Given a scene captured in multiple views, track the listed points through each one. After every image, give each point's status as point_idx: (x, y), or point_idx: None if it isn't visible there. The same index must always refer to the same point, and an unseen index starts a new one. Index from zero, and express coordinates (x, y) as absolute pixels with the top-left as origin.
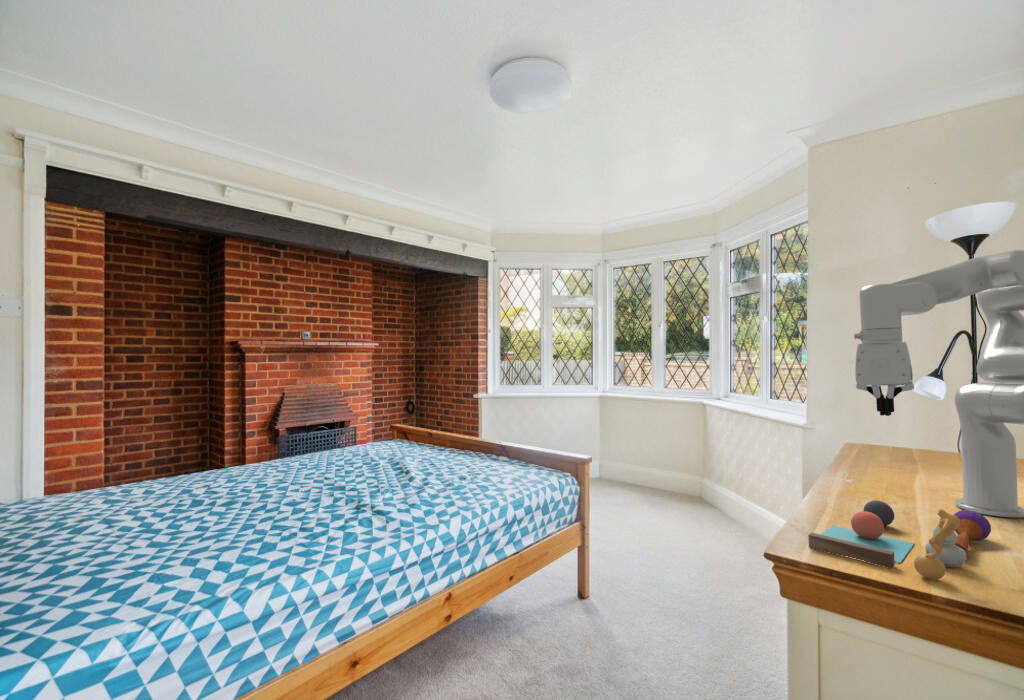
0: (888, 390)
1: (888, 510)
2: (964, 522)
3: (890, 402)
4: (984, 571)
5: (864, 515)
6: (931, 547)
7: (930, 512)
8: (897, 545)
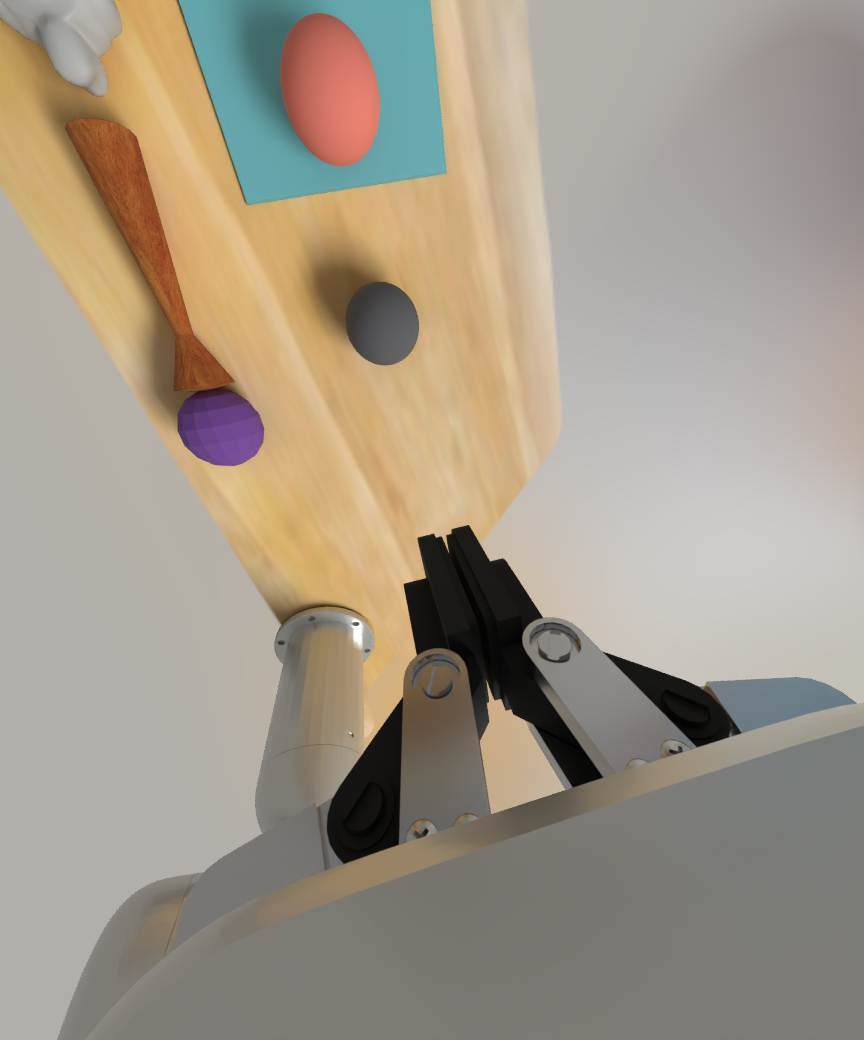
0: (465, 746)
1: (352, 311)
2: (195, 374)
3: (427, 631)
4: (3, 68)
5: (322, 29)
6: None
7: (372, 545)
8: (250, 110)
